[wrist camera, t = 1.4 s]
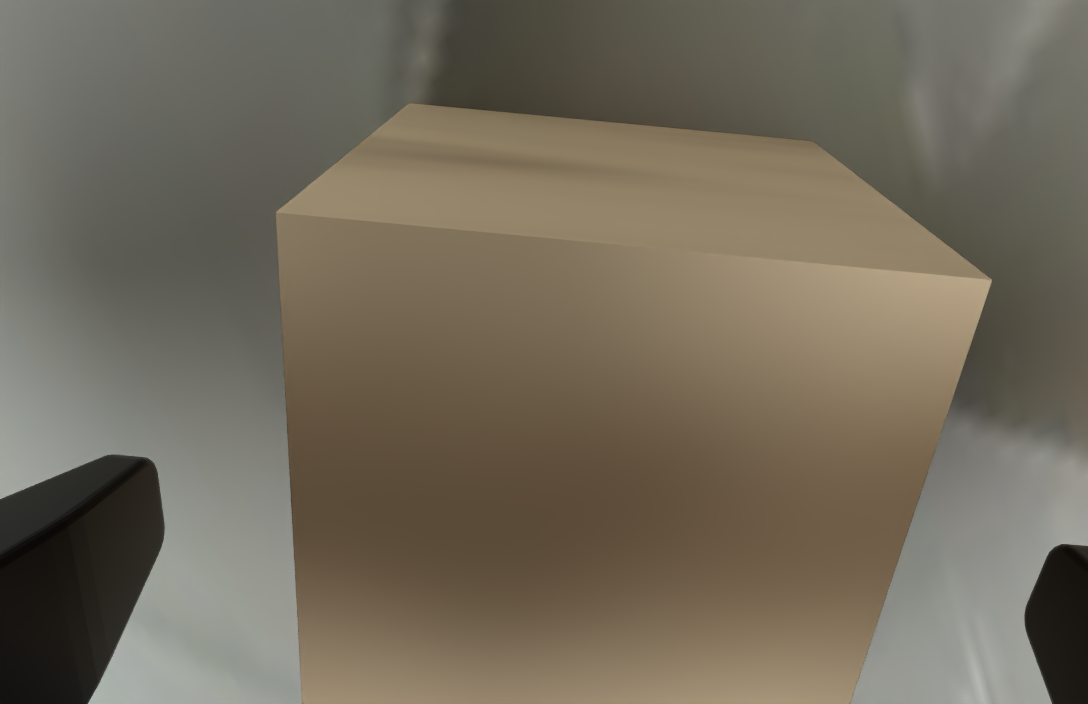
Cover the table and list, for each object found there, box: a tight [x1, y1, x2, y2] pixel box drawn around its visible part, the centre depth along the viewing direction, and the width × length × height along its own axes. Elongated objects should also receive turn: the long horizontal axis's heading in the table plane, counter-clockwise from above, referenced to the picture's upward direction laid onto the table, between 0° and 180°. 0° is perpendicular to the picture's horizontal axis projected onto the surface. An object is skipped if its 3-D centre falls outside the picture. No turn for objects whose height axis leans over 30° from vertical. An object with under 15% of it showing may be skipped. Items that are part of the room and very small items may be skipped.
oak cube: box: [276, 103, 992, 704], centre depth 11 cm, size 6×6×6 cm
